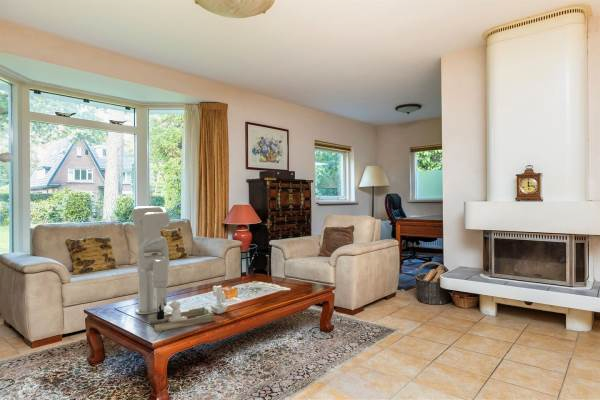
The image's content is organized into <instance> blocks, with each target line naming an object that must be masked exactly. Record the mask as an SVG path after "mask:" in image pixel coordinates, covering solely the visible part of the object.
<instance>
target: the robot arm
mask: <svg viewBox="0 0 600 400" xmlns="http://www.w3.org/2000/svg"><path fill="white" fill-rule="evenodd" d="M131 217H132V218H131V219H132V221H133V225H134V227H135V229H136V230H135V231H136V234H137V248H138V250H137V260H136V269H137V281H138V282H137V283H138V289H137V290H138V303H137V304H138V305H137V306H138V307H137V308H136V309H135V313H136V314H137V315H151V314H155V313H156V316H157V320H161V319H164V315H165V307H166V306H167V304H168V293H167V287H168V286H169V268H170V254H169V244H168V240H167V239H166V237H165V236H162V232H161V231H162V230H161V228H168V227H169V226H170V224H171V217H170V215H169V212H168V211H167V210H166V209H165V207H164V206H160V205H154V206H151V205H150V206H149V205H148V206H137V207H134V208H133V209H132V213H131ZM146 254H148V255H146ZM150 254H153V255H150Z"/></svg>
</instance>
